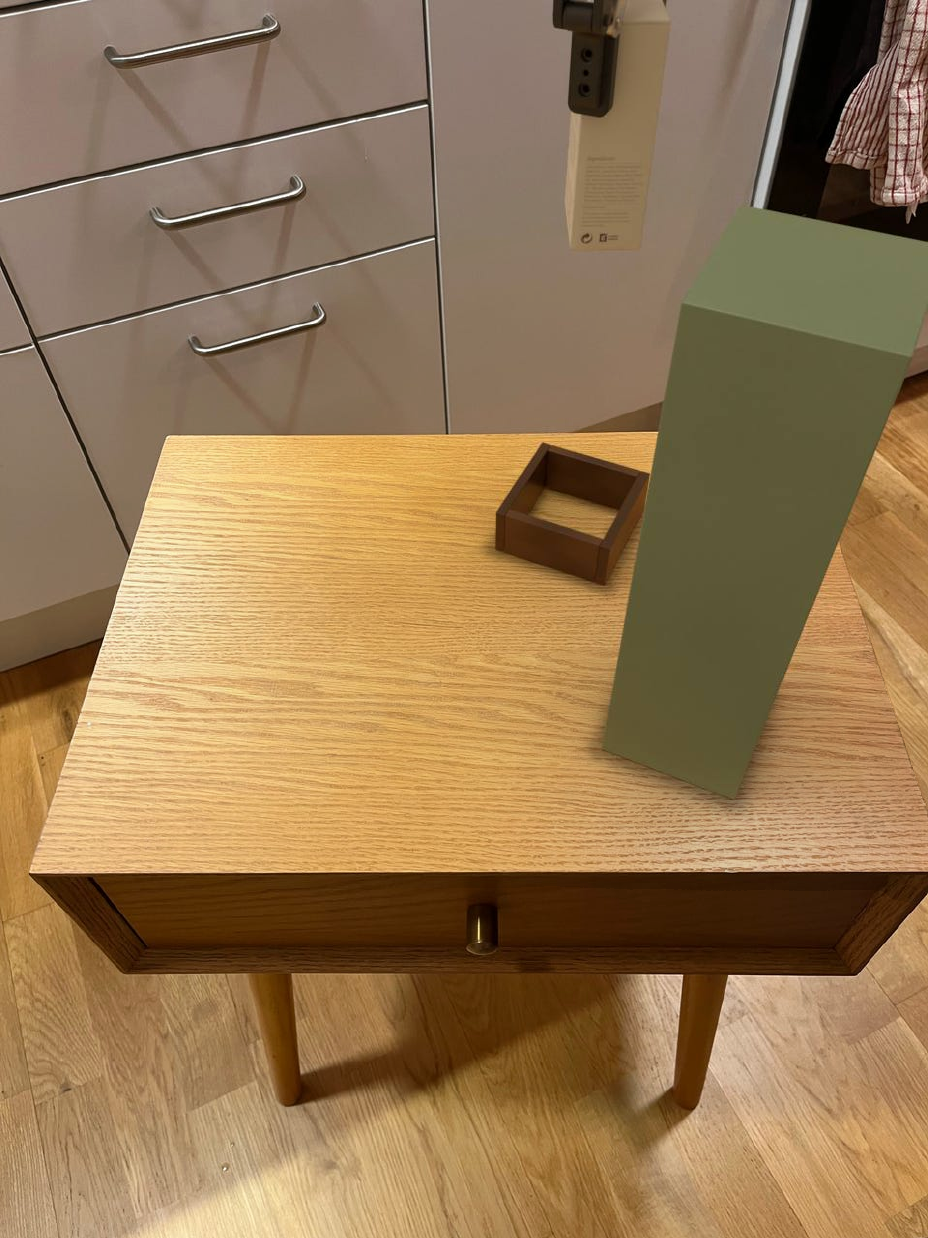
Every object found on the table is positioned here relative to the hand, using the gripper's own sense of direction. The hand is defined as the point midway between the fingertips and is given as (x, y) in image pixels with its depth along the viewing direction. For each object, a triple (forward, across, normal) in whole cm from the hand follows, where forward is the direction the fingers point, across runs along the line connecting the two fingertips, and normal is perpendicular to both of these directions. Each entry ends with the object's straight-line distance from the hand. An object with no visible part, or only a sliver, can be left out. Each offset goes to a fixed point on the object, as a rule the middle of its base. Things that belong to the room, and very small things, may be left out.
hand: (615, 85), depth 52 cm
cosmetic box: (+8, 0, 0) cm, 8 cm away
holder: (+33, 0, 0) cm, 33 cm away
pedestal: (+33, -14, -14) cm, 39 cm away
